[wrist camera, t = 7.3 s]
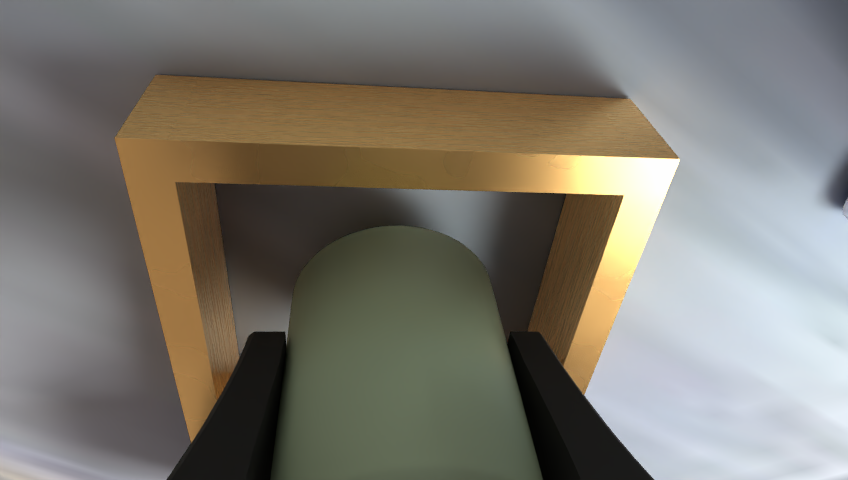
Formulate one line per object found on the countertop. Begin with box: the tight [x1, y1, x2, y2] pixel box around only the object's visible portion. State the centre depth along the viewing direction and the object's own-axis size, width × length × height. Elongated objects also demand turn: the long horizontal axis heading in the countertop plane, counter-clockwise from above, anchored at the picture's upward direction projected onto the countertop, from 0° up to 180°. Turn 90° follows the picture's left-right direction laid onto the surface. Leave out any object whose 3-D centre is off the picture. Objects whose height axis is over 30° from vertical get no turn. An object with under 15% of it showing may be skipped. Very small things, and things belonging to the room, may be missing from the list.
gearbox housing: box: [115, 75, 680, 443], centre depth 14 cm, size 10×15×7 cm
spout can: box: [270, 226, 543, 480], centre depth 12 cm, size 5×7×6 cm
